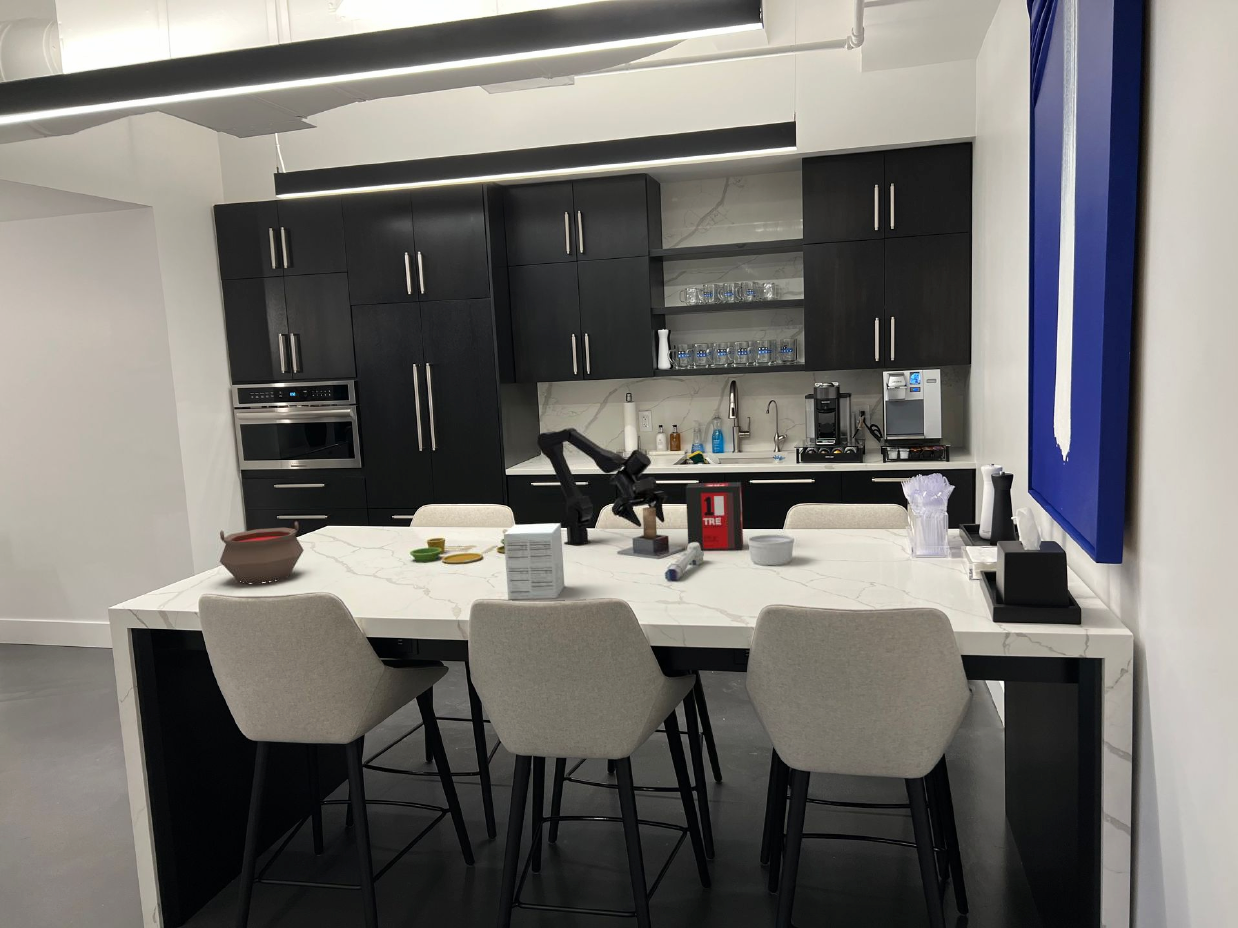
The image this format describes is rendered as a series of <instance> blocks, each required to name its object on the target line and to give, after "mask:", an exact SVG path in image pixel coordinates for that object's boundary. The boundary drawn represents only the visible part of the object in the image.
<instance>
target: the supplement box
mask: <svg viewBox="0 0 1238 928" xmlns="http://www.w3.org/2000/svg"><path fill="white" fill-rule="evenodd" d="M561 524H562V523H561V522H560V523H533V524H527V523H526V524H513V525H512V526H511V528H509V529H507V530H508V531H507V532H506V533H505V534H504V533H503V539H504V544H503V546H504V545H505V554H504V555H505V570H506V585H507V586H506V587H507V599H508V600H533V599H534V600H536V599H537V600H538V599H540V600H541V599H543V600H545V599H548V600H549V599H557V598H558V597H559V595H560V594H561V592H562V590H563V589H564V587H565V585H566V583H565V572H564V570H565V569H564V556H563V555H564V554H563V538H562V536H563V535H562V525H561Z"/></svg>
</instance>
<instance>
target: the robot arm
mask: <svg viewBox="0 0 1238 928" xmlns="http://www.w3.org/2000/svg"><path fill="white" fill-rule="evenodd" d="M566 442H567V443H568V444H570V445H572V446H573V447H575V448H576V449H578V450H579V451H581V452H582V453H584V455H586V456H588V457H589V458H590V459H591V460H593V461H594V464H595V465H596V466H597V468H598V469H599V470H601V472H603V473H605V474H611V473H615V472H616V473H615V474H614V475H610V480H609V484H611V485H617V486H618V487H619V489H620V490H621V495H620V496H621V497H618V498H616V500H615V502H614V503H613V505H612V507H611V512H612V515H613V516H617V517H618V518H622V519H624V520H626V521H629V522H630V523H632V524H633V525H635V526H637V527H638V528H640V527H641V526H642V523H641V521H640V518H639V517H638V515H637V513H636V512H635V510H634V507H641V506H647V507H654V508H656V519H658V520H659V521H660V522H661V523H664V522H665V515H664V510H663V509H664V508H663V504H664V502H665V501H666V500H667V498H668V496H667V493H665V491H663V490H661V491H654V492H652V494H651V495H650V497H647V496H649V494H650V491H651V490H653V489H654V488H655V487H656V486H657V480H656V479H655V477H654V476H649V477H647V478H645V479H640V480H638V481H637V480H636V478H635V477H640V476H641V475H642V474H643V473H644V472H645V471H646V470H647V468H649V467H650V465H651V464H652V460H651V459H650V457H649V455H647V454H645V453H644V452H642V451H639V450H638V449H634V450H632V452H631V453H630V455H629V456H628V457H627V458H626V457H623V456H622V455H621V454H619V453H616V452H614V451H613V450H609V449H606V448H603V447H601V446H600V445H599V444H596V443H595V442H593V441H592V440H591V439H589V438H587V437H586V436H585V435H583V434H582V433H580V432H579V431H578V430H577V429H576V428H574V427H567V428H564V429H562V430H559V431H556V430H555V431H553V430H552V431H545V432H542V433H540V434H538V436H537V439H536V444H537V447H538V448H539V450H540V452H541V453H542V454H543V455H544V457H546V458H547V459H548V460H549V461H550V464H551V466H552V468H553V471H554V473H555V475H556V477H557V479H558V480H557V481H558V482H559V484H560V486H561V489H562V491H563V493H564V496H565V498H566V503H565V505H566V507H565V509H566V512H567V514H566V515H565V516H564V518H563V519H562V521H561V524H562V526H563V527H564V528H566V538H567V539H566V541H564V545H571V546H573V545H574V546H581V545H584V544H588V543H591V540H589V534H588V533H589V532H588V527H587V524H589V523H590V520H591V518H592V516H593V513H594V509H593V507H594V504H593V503H592V502H591V498H590V497H589V495H584V494H582V493H581V491H580V489H579V487H578V485H577V482H576V481H575V478H574V476H573V475H574V474H573V473H572V471H571V469H570V466H569V465H568V462H567V459H566V458H565V455H564V447H565V445H564V443H566Z"/></svg>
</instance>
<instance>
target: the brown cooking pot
mask: <svg viewBox="0 0 1238 928" xmlns="http://www.w3.org/2000/svg"><path fill="white" fill-rule="evenodd" d="M299 529H300V526H299V522H298V521H295V522H294V528H288V527H274V528H259V529H258V528H257V529H252V530H246V531H241V532H235V533H231V534H229V535H227V536H225V532H224V530H220V532H219V535H220V537H219V538H220V540H221V541H222V542H223V543H224V544H225V545H224V549H223V550H222V554H221V555H220V556H221V557H220V559H219V563H220V564H221V565H222V566H223V567H225V569H226V570H227V571H228V572H229V573H230V574H231V575H232V576H233V577H234V578H235V580H236V581H238V582H239V581H241V582H244V583H262V582H269V581H275V580H279V581H282V580H281V579H283V580H285V579H287V578H288V577H289V576H290V575H291V573H292V572H293V570H294V568H295V566H296V565H297V563H298V561H299V560H300V558H301V556H302V554H303V553H304V551H305V550H304V548H303V546H302V544H301V543H300V542H299V540H298V538H297V536H296V534H297V533H298V531H299ZM287 576H288V577H287ZM286 577H287V578H286ZM275 582H276V581H275ZM244 583H243V584H244Z"/></svg>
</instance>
